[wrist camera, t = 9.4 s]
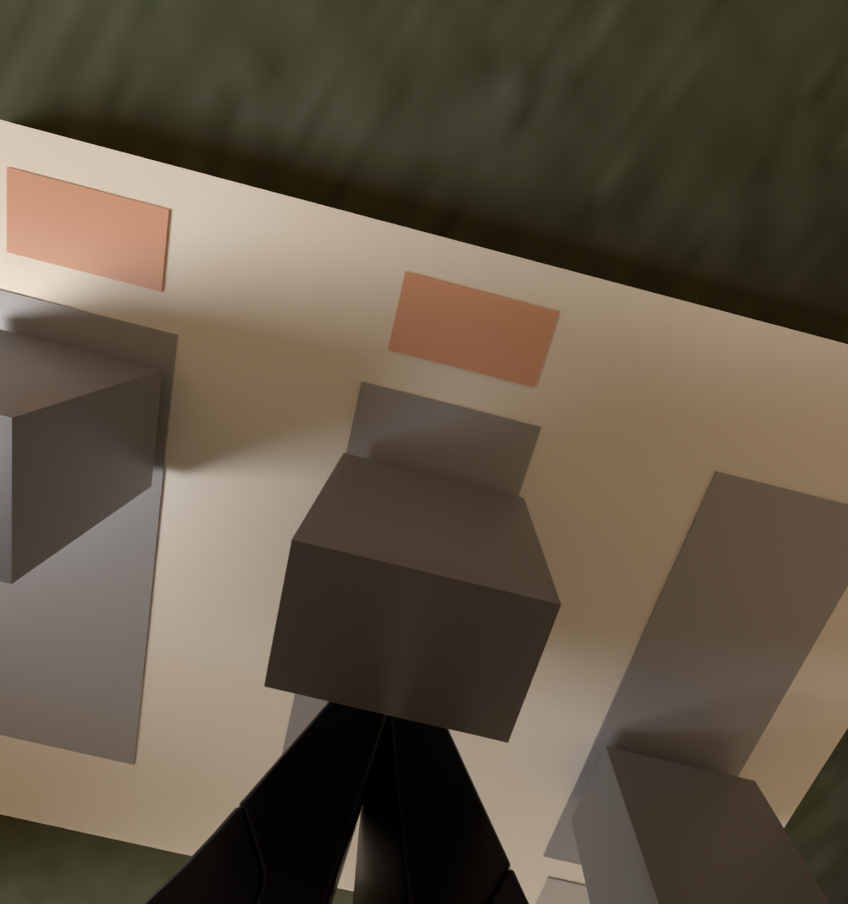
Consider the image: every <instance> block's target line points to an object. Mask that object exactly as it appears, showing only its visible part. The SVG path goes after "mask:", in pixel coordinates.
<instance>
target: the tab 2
mask: <svg viewBox="0 0 848 904" xmlns="http://www.w3.org/2000/svg"><path fill="white" fill-rule="evenodd" d="M560 607H561V602H560V600H559V597H558V594H557V591H556V588H555V585H554V582H553V580H552V577H551V574H550V571H549V568H548V565H547V562H546V560H545V557H544V554H543V551H542V548H541V545H540V542H539V540H538V537H537V534H536V531H535V528H534V525H533V522H532V520H531V517H530V514H529V511H528V508H527V505H526V502H525V500H524V498H523V497H519V496H515V495H511V494H507V493H503V492H499V491H495V490H491V489H487V488H483V487H479V486H475V485H471V484H467V483H463V482H459V481H455V480H451V479H447V478H443V477H439V476H435V475H431V474H427V473H423V472H419V471H415V470H411V469H407V468H403V467H398V466H394V465H390V464H386V463H382V462H378V461H374V460H370V459H366V458H362V457H358V456H354V455H350V454H346V453H343V455H342V456H341V458H340V460H339V461H338V463H337V465H336V466H335V468H334V470H333V471H332V473H331V475H330V476H329V478H328V480H327V481H326V483H325V485H324V486H323V488H322V490H321V491H320V493H319V495H318V497H317V498H316V500H315V502H314V503H313V505H312V507H311V508H310V510H309V512H308V513H307V515H306V517H305V518H304V520H303V522H302V523H301V525H300V527H299V528H298V530H297V532H296V533H295V535H294V537H293V538H292V541H291V546H290V551H289V557H288V562H287V567H286V572H285V578H284V583H283V588H282V593H281V599H280V604H279V609H278V615H277V620H276V625H275V630H274V636H273V641H272V646H271V652H270V657H269V662H268V667H267V673H266V678H265V683H264V687H268V688H273V689H277V690H281V691H286V692H290V693H294V694H299V695H303V696H307V697H312V698H316V699H320V700H325V701H329V702H333V703H338V704H342V705H346V706H351V707H355V708H359V709H364V710H368V711H372V712H377V713H381V714H385V715H390V716H394V717H398V718H403V719H407V720H411V721H416V722H420V723H424V724H429V725H433V726H437V727H442V728H446V729H450V730H455V731H459V732H463V733H468V734H472V735H476V736H481V737H485V738H489V739H494V740H498V741H502V742H507V743H508V742H509V739H510V737H511V734H512V731H513V729H514V726H515V724H516V721H517V718H518V716H519V713H520V711H521V708H522V705H523V703H524V700H525V698H526V695H527V692H528V690H529V687H530V685H531V682H532V679H533V677H534V674H535V672H536V669H537V666H538V664H539V661H540V659H541V656H542V653H543V651H544V648H545V646H546V643H547V640H548V638H549V635H550V633H551V630H552V627H553V625H554V622H555V620H556V617H557V614H558V612H559V609H560Z"/></svg>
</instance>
